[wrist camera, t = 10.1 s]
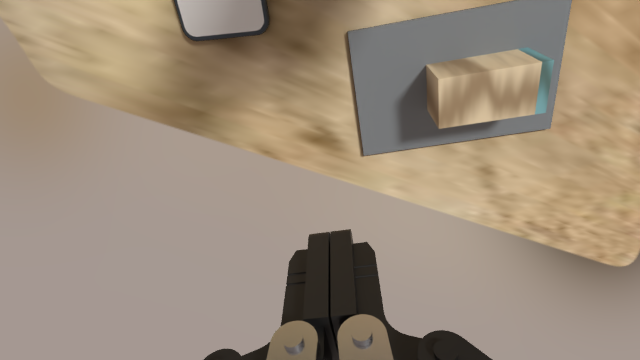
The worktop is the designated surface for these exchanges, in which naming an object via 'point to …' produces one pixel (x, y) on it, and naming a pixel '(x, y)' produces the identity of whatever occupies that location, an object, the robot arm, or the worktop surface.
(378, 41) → the slate mat
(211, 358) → the robot arm
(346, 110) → the worktop surface
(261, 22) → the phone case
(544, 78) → the maple block
